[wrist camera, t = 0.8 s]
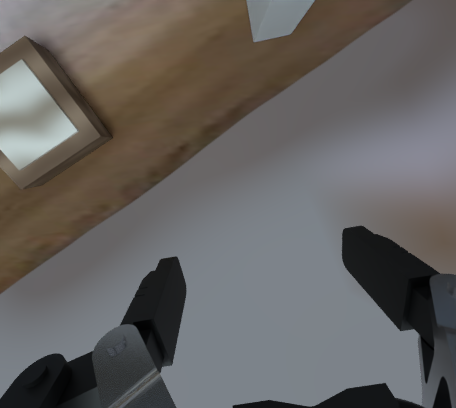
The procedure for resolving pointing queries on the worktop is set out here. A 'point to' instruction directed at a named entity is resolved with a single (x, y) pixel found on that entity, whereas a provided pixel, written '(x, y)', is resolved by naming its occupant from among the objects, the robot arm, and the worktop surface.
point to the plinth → (42, 117)
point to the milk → (275, 17)
